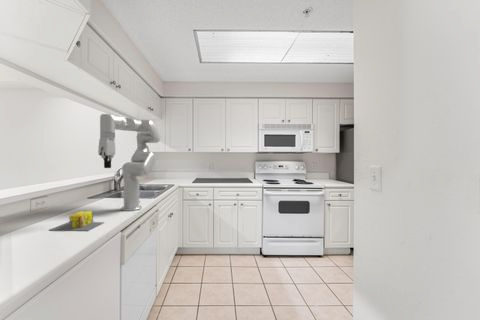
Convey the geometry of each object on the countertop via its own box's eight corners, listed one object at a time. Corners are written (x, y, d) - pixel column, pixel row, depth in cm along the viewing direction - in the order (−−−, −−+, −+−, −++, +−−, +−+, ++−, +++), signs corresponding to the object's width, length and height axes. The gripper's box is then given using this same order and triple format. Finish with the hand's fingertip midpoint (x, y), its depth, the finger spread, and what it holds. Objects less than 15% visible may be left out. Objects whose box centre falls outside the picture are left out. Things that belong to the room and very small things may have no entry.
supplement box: (93, 221, 133) (81, 227, 122) (82, 221, 132) (69, 227, 122) (93, 210, 133) (81, 216, 122) (82, 210, 132) (68, 216, 121)
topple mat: (69, 222, 132) (69, 221, 132) (104, 222, 132) (104, 222, 132) (48, 230, 118) (48, 229, 118) (87, 231, 118) (87, 230, 118)
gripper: (108, 136, 148) (108, 167, 148) (93, 134, 133) (93, 168, 133) (120, 137, 148) (120, 167, 148) (106, 135, 133) (106, 168, 133)
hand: (107, 167), depth 141 cm, fingers closed
